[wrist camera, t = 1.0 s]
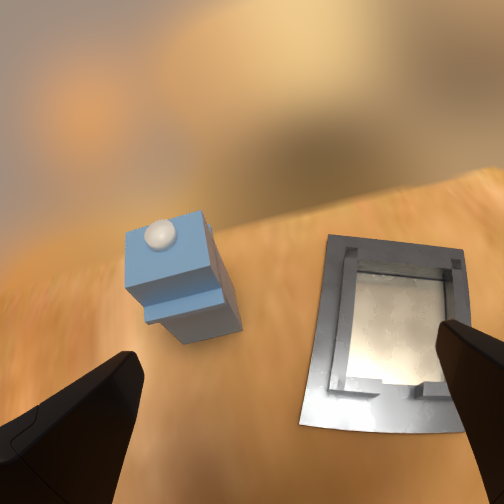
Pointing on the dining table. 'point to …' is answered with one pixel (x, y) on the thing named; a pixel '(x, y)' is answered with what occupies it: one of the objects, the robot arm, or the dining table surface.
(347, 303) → the tray
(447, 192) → the dining table surface
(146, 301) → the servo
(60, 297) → the dining table surface
